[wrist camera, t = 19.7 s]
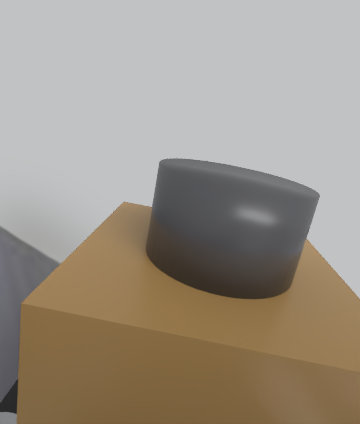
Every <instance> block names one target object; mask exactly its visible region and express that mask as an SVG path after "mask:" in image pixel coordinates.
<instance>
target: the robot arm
mask: <svg viewBox="0 0 360 424" xmlns="http://www.w3.org/2000/svg"><path fill="white" fill-rule="evenodd" d="M17 397H18V380H17V381H16V382H15V384H14V385H13V387H12V388H11V389H10V391H9V392H8V393H7V395H6V396H5V398H4V399H3V400H2V402H1V403H0V424H16V422H17Z"/></svg>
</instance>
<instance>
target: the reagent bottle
mask: <svg viewBox="0 0 360 424" xmlns="http://www.w3.org/2000/svg"><path fill="white" fill-rule="evenodd" d="M319 197H320V195H319V194H318V192H316V191H315V190H313V189H311V188H309V187H307V186H304V185H302V184H299V183H296V182H294V181H290V180H287V179H284V178H281V177H278V176H274V175H270V174H267V173H263V172H259V171H254V170H250V169H245V168H241V167H236V166H231V165H226V164H220V163H214V162H208V161H200V160H190V159H164V160H161V161H160V163H159V168H158V174H157V181H156V187H155V193H154V199H153V205H152V207H149V206H143V205H138V204H133V203H128V202H123V203H122V204H121V205H120V206H119V207H118V208H117V209H116V210H115V211H114V212H113V213H112V214H111V215H110V216H109V217H108V218H107V219H106V220H105V221H104V222H103V223H102V224H101V225H100V226H99V227H98V228H97V229H96V230H95V231H94V232H93V233H92V234H91V235H90V236H89V237H88V238H87V239H86V240H85V241H84V242H83V243H82V244H81V245H80V246H79V247H78V248H77V249H76V250H75V251H74V252H73V253H72V254H71V255H69V256H68V258H66V260H65V261H64V262H63V263H61V264H60V265H59V266H58V267H57V268H56V269H55V270H54V271H53V272H52V273H51V274H50V275H49V276H48V277H47V278H46V279H45V280H44V281H43V282H42V283H41V284H40V285H39V286H38V287H37V288H36V289H35V290H34V291H33V292H32V293H31V294H30V295H29V296H28V297H27V298H26V299H25V300H24V301H23V302H22V303H21V321H20V346H19V371H18V397H17V422H16V424H360V299H359V298H358V297H357V295H356V294H355V293H354V292H353V291H352V290H351V288H350V287H349V286H348V285H347V284H346V283H345V282H344V281H343V279H342V278H341V277H340V276H339V275H338V274H337V273H336V271H335V270H333V268H332V267H331V266H330V265H329V264H328V262H327V261H326V260H325V259H324V258H323V257H322V256H321V254H320V253H319V252H318V251H317V250H316V249H315V248H314V247H313V246H312V245H311V243H310V242H309V241H308V240H307V239H306V238H307V235H308V232H309V228H310V225H311V222H312V219H313V216H314V213H315V209H316V206H317V203H318V200H319Z"/></svg>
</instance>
